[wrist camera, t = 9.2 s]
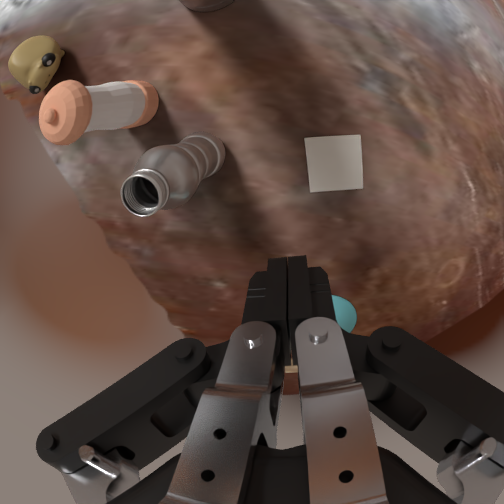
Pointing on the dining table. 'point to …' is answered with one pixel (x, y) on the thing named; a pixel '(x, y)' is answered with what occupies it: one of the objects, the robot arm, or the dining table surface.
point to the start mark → (334, 162)
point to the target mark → (344, 313)
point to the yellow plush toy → (35, 62)
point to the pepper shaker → (95, 108)
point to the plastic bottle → (171, 173)
